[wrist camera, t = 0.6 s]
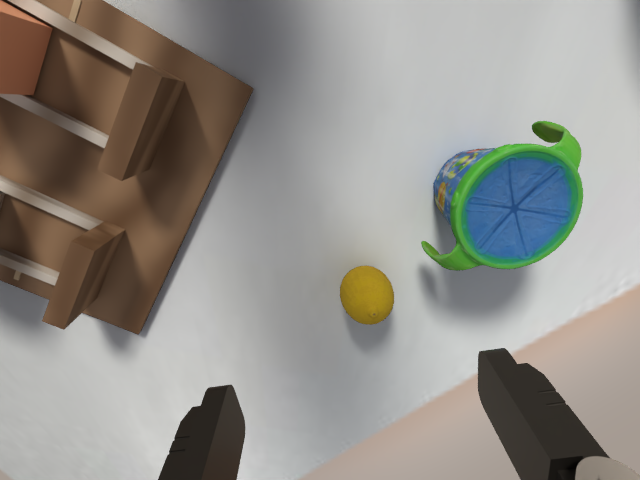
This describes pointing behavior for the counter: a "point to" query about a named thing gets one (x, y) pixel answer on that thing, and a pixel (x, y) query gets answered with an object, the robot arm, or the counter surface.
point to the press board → (107, 161)
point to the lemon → (367, 295)
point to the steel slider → (1, 197)
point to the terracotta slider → (21, 50)
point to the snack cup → (510, 201)
